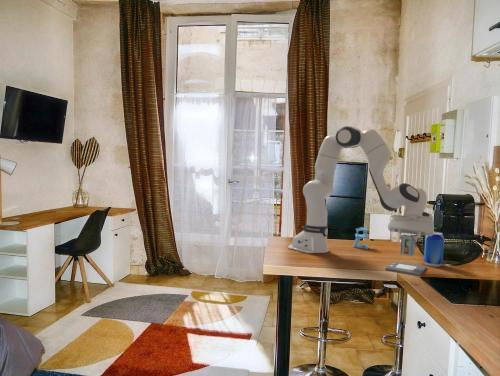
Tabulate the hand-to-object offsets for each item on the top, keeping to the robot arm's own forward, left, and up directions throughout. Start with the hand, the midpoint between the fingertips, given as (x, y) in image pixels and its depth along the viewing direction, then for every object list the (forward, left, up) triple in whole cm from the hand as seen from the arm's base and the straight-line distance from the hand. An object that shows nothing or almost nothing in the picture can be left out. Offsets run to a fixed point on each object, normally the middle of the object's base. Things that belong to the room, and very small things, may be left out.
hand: (407, 239), depth 182 cm
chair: (-32, +34, -14) cm, 49 cm away
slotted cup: (0, +1, -7) cm, 7 cm away
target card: (0, +1, -14) cm, 14 cm away
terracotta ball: (-1, 0, -5) cm, 5 cm away
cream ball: (0, +1, -2) cm, 3 cm away
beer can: (+9, +19, -14) cm, 25 cm away
